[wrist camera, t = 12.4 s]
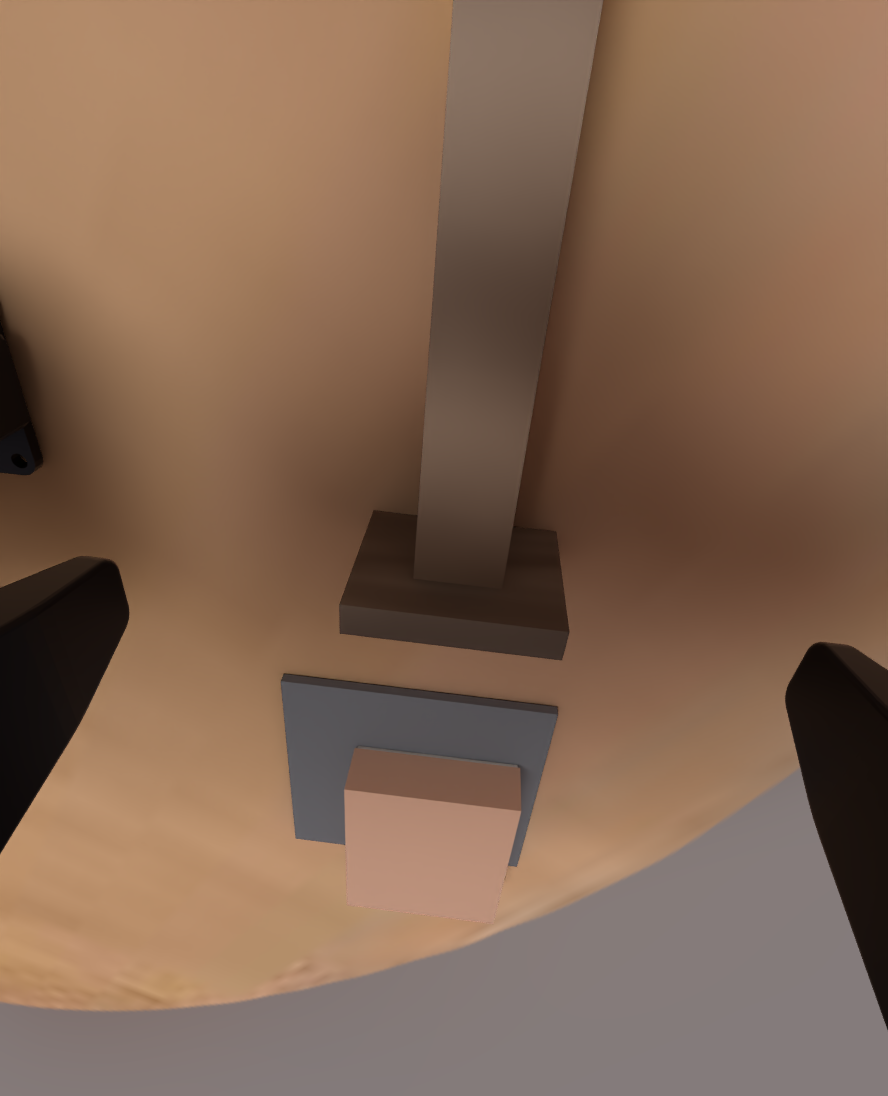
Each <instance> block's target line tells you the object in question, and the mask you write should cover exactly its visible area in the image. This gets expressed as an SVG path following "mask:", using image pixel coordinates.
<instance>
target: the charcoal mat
mask: <svg viewBox="0 0 888 1096" xmlns="http://www.w3.org/2000/svg"><path fill="white" fill-rule="evenodd" d="M281 689H282V700H283V710H284V721H285V731H286V742H287V752H288V763H289V773H290V784H291V794H292V805H293V815H294V825H295V836H296V839H304V840H312V841H320V842H327V843H335V844H343V845H345V801H344V788H345V784H346V780H347V777H348V773H349V769H350V765H351V761H352V757H353V753H354V749H355V748H358V746H364V747H372V748H380V749H388V750H397V751H405V752H413V753H421V754H430V755H438V756H446V757H454V758H463V759H471V760H479V761H487V762H496V763H504V764H512V765H518V768H520V777H521V815H520V819H519V823H518V827H517V831H516V835H515V839H514V843H513V847H512V851H511V855H510V859H509V863H508V866H515V867H517V864H518V861H519V857H520V853H521V850H522V846H523V842H524V838H525V835H526V831H527V827H528V824H529V820H530V816H531V813H532V809H533V805H534V801H535V798H536V794H537V790H538V787H539V783H540V779H541V776H542V772H543V768H544V765H545V761H546V757H547V753H548V750H549V746H550V742H551V739H552V735H553V731H554V728H555V724H556V720H557V716H558V709H557V707H554V706H546V705H537V704H529V703H521V702H512V701H504V700H496V699H488V698H479V697H471V696H463V695H455V694H446V693H438V692H430V691H421V690H413V689H405V688H397V687H388V686H380V685H372V684H364V683H355V682H347V681H339V680H330V679H322V678H314V677H306V676H297V675H289V674H284V675H283V677H282V679H281Z"/></svg>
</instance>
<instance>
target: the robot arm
mask: <svg viewBox="0 0 888 1096" xmlns="http://www.w3.org/2000/svg"><path fill="white" fill-rule="evenodd" d="M20 455H22V456H23V457H24V458H25V459H26V461H27V462H26V461H24V460H23V459H22V458H21V456H20ZM42 464H43V457H42V454H41V450H40V447H39V444H38V441H37V438H36V434H35V431H34V428H33V425H32V422H31V418H30V415H29V412H28V409H27V405H26V402H25V399H24V396H23V393H22V389H21V386H20V383H19V380H18V376H17V373H16V370H15V367H14V364H13V360H12V357H11V354H10V351H9V348H8V344H7V341H6V338H5V335H4V331H3V328H2V325H1V322H0V473H9V474H18V475H30V474H32V473H33V472H35V471H36V470H38V469H39V468H40V467H42ZM128 620H129V605H128V602H127V598H126V594H125V590H124V587H123V583H122V579H121V575H120V572H119V569H118V566H117V565H116V563H115V562H114V561H112V560H110V559H106V558H98V557H89V556H79V557H76V558H73V559H71V560H68V561H66V562H63V563H61V564H58V565H56V566H53V567H51V568H48V569H46V570H43V571H41V572H39V573H36V574H34V575H31V576H29V577H26V578H24V579H21V580H19V581H16V582H14V583H11V584H9V585H6V586H4V587H1V588H0V853H1V852H2V850H3V849H4V847H5V845H6V844H7V842H8V840H9V839H10V837H11V836H12V834H13V832H14V831H15V829H16V828H17V826H18V824H19V823H20V821H21V819H22V818H23V816H24V815H25V813H26V811H27V810H28V808H29V806H30V805H31V803H32V802H33V800H34V798H35V797H36V795H37V793H38V792H39V790H40V789H41V787H42V785H43V784H44V782H45V780H46V779H47V777H48V776H49V774H50V772H51V771H52V769H53V767H54V766H55V764H56V763H57V761H58V759H59V758H60V756H61V754H62V753H63V751H64V750H65V748H66V746H67V745H68V743H69V741H70V740H71V738H72V736H73V735H74V733H75V731H76V729H77V728H78V726H79V724H80V722H81V720H82V718H83V716H84V714H85V713H86V711H87V709H88V707H89V704H90V702H91V700H92V698H93V696H94V694H95V692H96V690H97V688H98V686H99V683H100V681H101V679H102V677H103V675H104V673H105V671H106V669H107V667H108V665H109V663H110V660H111V658H112V656H113V654H114V652H115V650H116V648H117V646H118V644H119V642H120V639H121V637H122V635H123V633H124V631H125V629H126V627H127V624H128ZM785 703H786V709H787V713H788V717H789V722H790V726H791V730H792V734H793V738H794V743H795V747H796V751H797V755H798V760H799V764H800V768H801V772H802V776H803V780H804V785H805V789H806V793H807V797H808V801H809V805H810V809H811V812H812V815H813V819H814V822H815V825H816V828H817V831H818V834H819V837H820V840H821V843H822V846H823V849H824V852H825V854H826V857H827V860H828V863H829V865H830V869H831V872H832V874H833V877H834V880H835V883H836V886H837V888H838V891H839V894H840V897H841V900H842V903H843V905H844V908H845V911H846V914H847V916H848V920H849V922H850V925H851V928H852V931H853V934H854V936H855V939H856V942H857V945H858V948H859V951H860V953H861V956H862V959H863V962H864V965H865V968H866V970H867V973H868V976H869V979H870V982H871V985H872V987H873V990H874V993H875V996H876V998H877V1001H878V1004H879V1007H880V1010H881V1013H882V1016H883V1018H884V1021H885V1024H886V1026H887V1030H888V670H887V669H885V668H884V667H882V666H881V665H879V664H878V663H876V662H875V661H873V660H872V659H870V658H869V657H867V656H866V655H864V654H863V653H862V652H860V651H859V650H857V649H856V648H854V647H852V646H849V645H844V644H835V643H826V642H818V643H815V644H813V645H812V646H810V647H809V649H808V650H807V652H806V654H805V656H804V657H803V659H802V661H801V663H800V665H799V666H798V668H797V670H796V672H795V674H794V675H793V677H792V679H791V681H790V683H789V684H788V687H787V690H786V695H785Z"/></svg>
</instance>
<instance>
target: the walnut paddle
mask: <svg viewBox="0 0 888 1096" xmlns="http://www.w3.org/2000/svg"><path fill="white" fill-rule="evenodd" d="M602 5H603V0H453V13H452V28H451V42H450V57H449V71H448V85H447V100H446V114H445V129H444V143H443V158H442V172H441V186H440V201H439V215H438V230H437V244H436V259H435V273H434V287H433V302H432V316H431V331H430V345H429V360H428V374H427V388H426V403H425V417H424V432H423V446H422V461H421V475H420V489H419V504H418V516H417V515H408V514H400V513H391V512H382V511H373V514H372V517H371V519H370V522H369V525H368V528H367V530H366V533H365V536H364V538H363V541H362V544H361V547H360V549H359V552H358V555H357V558H356V560H355V563H354V566H353V569H352V571H351V574H350V577H349V580H348V582H347V585H346V588H345V591H344V593H343V596H342V599H341V602H340V604H339V612H340V634H348V635H357V636H365V637H373V638H381V639H390V640H398V641H406V642H414V643H423V644H431V645H439V646H447V647H456V648H464V649H472V650H480V651H489V652H497V653H505V654H514V655H522V656H530V657H538V658H547V659H555V660H562V658H563V654H564V651H565V647H566V643H567V639H568V635H569V626H568V618H567V610H566V603H565V595H564V588H563V580H562V572H561V565H560V557H559V549H558V542H557V534H556V532H555V531H546V530H538V529H529V528H520V527H513V523H514V517H515V511H516V505H517V500H518V494H519V488H520V482H521V476H522V470H523V465H524V459H525V453H526V447H527V441H528V436H529V430H530V424H531V418H532V412H533V406H534V401H535V395H536V389H537V383H538V377H539V371H540V366H541V360H542V354H543V348H544V342H545V337H546V331H547V325H548V319H549V313H550V307H551V302H552V296H553V290H554V284H555V278H556V273H557V267H558V261H559V255H560V249H561V243H562V238H563V232H564V226H565V220H566V214H567V208H568V203H569V197H570V191H571V185H572V179H573V174H574V168H575V162H576V156H577V150H578V144H579V139H580V133H581V127H582V121H583V115H584V109H585V104H586V98H587V92H588V86H589V80H590V75H591V69H592V63H593V57H594V51H595V45H596V40H597V34H598V28H599V22H600V16H601V10H602Z"/></svg>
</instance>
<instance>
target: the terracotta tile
mask: <svg viewBox="0 0 888 1096" xmlns="http://www.w3.org/2000/svg"><path fill="white" fill-rule="evenodd" d="M344 801H345V845H346V889H347V905H350V906H358V907H365V908H373V909H381V910H389V911H397V912H404V913H412V914H420V915H428V916H435V917H443V918H451V919H459V920H467V921H474V922H482V923H490V924H494V919H495V915H496V911H497V907H498V903H499V899H500V895H501V891H502V887H503V883H504V879H505V875H506V871H507V867H508V863H509V859H510V855H511V851H512V847H513V843H514V839H515V835H516V831H517V827H518V823H519V819H520V815H521V777H520V768H518V765H512V764H504V763H496V762H487V761H479V760H471V759H463V758H454V757H446V756H438V755H430V754H421V753H413V752H405V751H397V750H388V749H380V748H372V747H364V746H358V748H355V749H354V753H353V757H352V761H351V765H350V769H349V773H348V777H347V780H346V784H345V788H344Z"/></svg>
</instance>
